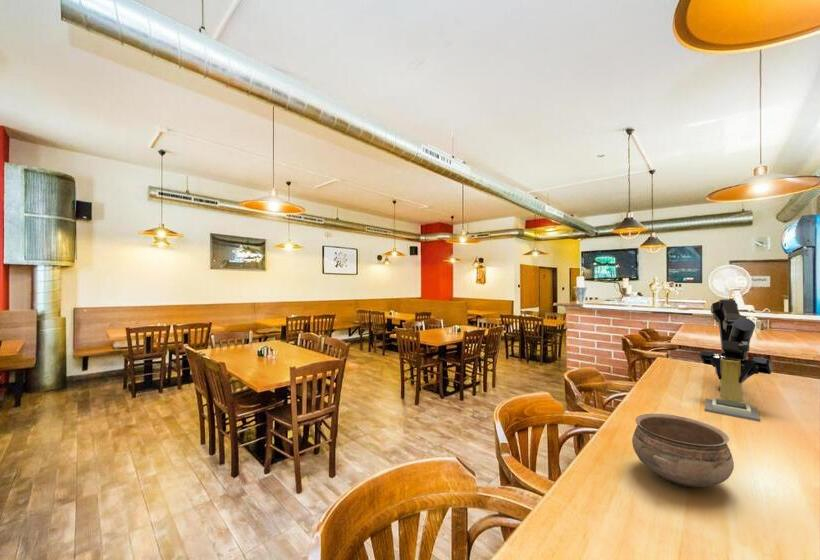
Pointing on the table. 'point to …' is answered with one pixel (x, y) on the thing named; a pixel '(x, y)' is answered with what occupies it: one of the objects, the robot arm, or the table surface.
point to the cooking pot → (683, 450)
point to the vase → (731, 380)
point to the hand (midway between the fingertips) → (729, 380)
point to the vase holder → (732, 408)
